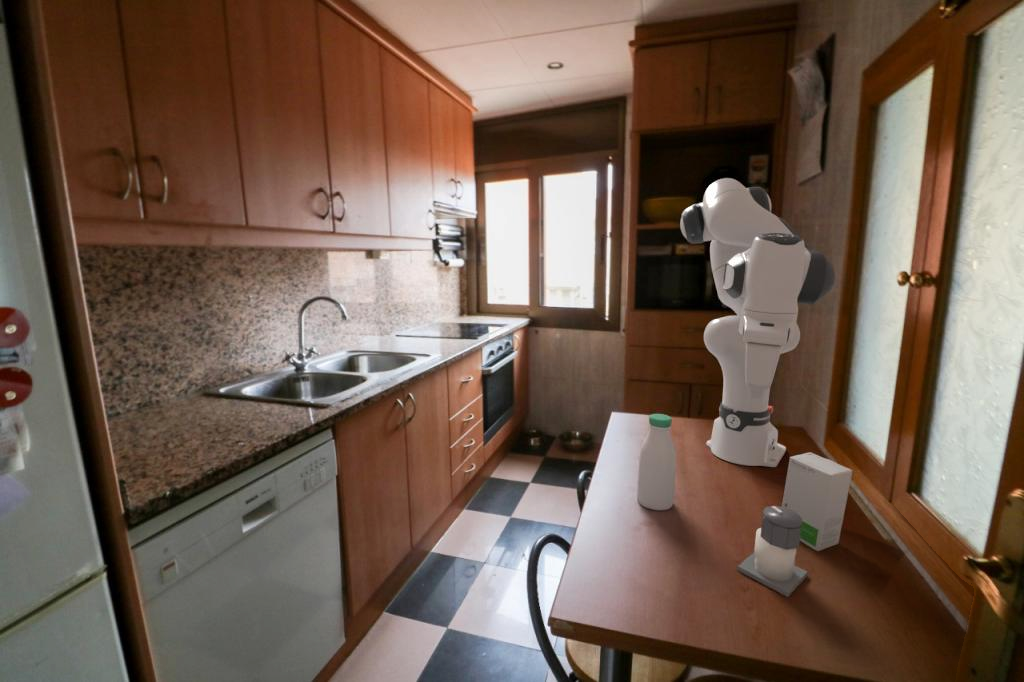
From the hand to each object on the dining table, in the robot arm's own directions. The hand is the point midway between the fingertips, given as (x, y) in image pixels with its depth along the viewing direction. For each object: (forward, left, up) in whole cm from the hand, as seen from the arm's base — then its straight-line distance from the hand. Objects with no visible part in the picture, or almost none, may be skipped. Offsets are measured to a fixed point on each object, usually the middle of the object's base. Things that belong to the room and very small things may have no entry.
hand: (756, 398), depth 84 cm
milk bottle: (+4, -17, -28) cm, 33 cm away
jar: (+8, +9, -28) cm, 30 cm away
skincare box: (-9, +9, -28) cm, 31 cm away
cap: (+8, +9, -21) cm, 24 cm away
